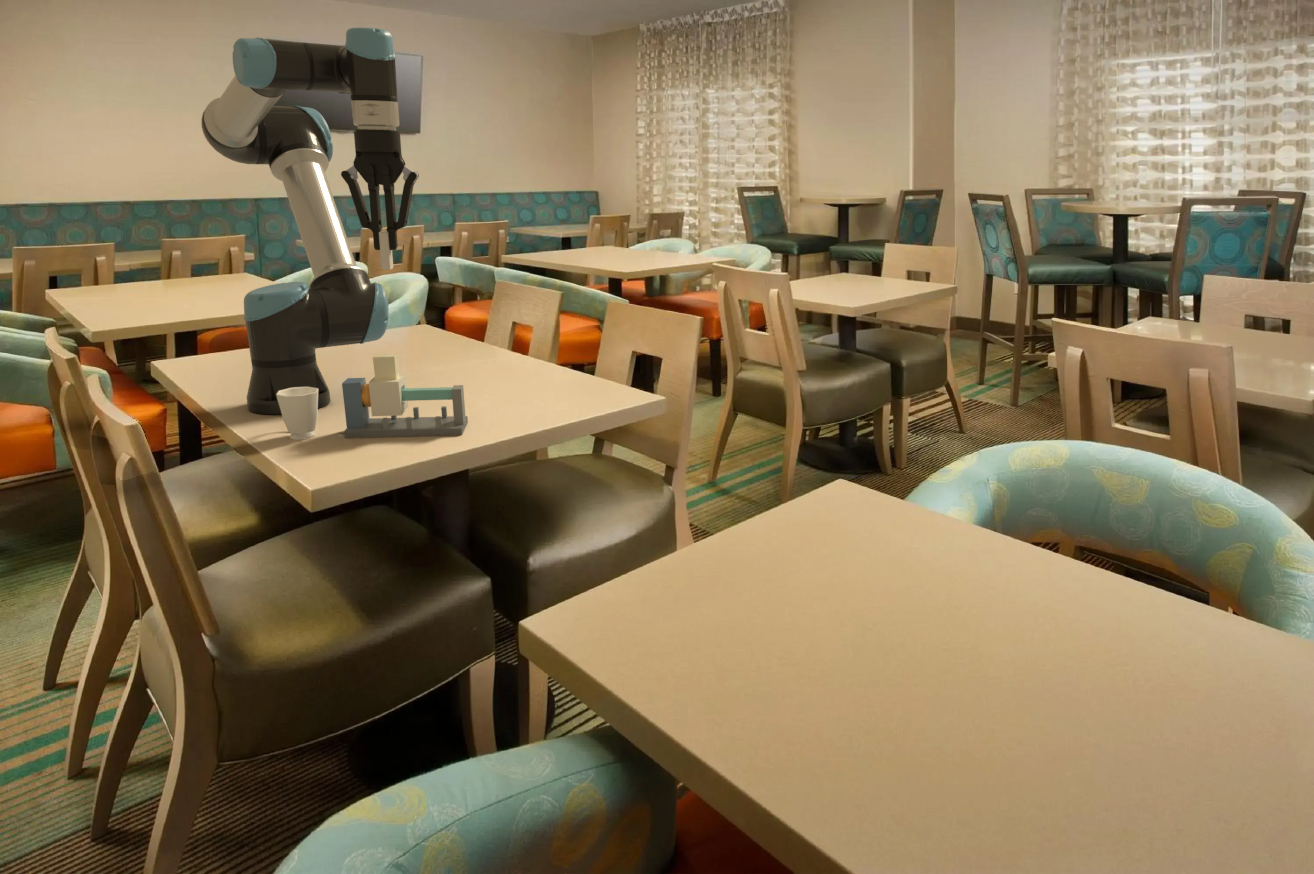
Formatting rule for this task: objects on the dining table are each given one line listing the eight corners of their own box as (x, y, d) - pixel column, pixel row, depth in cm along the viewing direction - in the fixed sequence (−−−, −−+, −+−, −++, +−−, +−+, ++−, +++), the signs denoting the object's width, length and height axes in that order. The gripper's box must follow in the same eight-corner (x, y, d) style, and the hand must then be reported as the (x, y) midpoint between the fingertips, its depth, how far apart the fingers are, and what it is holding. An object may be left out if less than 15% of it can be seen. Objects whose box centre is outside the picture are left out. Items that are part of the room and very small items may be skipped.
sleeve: (408, 406, 158) (403, 351, 155) (401, 415, 152) (396, 358, 149) (379, 407, 157) (374, 352, 154) (372, 416, 151) (366, 359, 148)
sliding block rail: (467, 422, 160) (464, 373, 158) (462, 434, 153) (458, 383, 150) (356, 425, 159) (350, 375, 156) (344, 438, 151) (338, 386, 148)
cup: (287, 444, 148) (281, 398, 145) (272, 431, 155) (266, 387, 153) (329, 437, 152) (324, 392, 149) (312, 424, 159) (307, 381, 157)
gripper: (331, 127, 144) (344, 271, 152) (411, 129, 146) (421, 272, 153) (343, 128, 152) (355, 265, 159) (419, 129, 153) (428, 266, 160)
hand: (387, 268), depth 156 cm, fingers closed
